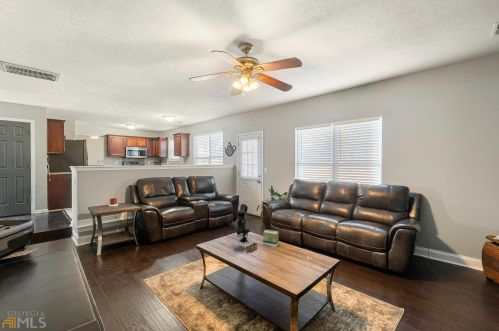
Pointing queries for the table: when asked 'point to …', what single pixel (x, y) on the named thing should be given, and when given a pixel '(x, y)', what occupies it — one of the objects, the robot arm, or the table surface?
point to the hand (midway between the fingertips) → (241, 237)
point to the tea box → (270, 238)
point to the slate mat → (240, 249)
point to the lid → (240, 236)
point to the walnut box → (251, 248)
